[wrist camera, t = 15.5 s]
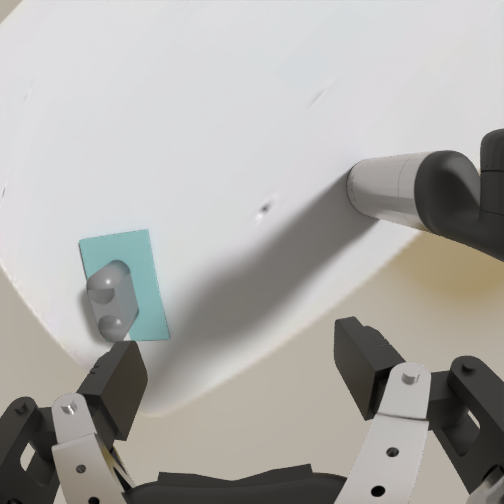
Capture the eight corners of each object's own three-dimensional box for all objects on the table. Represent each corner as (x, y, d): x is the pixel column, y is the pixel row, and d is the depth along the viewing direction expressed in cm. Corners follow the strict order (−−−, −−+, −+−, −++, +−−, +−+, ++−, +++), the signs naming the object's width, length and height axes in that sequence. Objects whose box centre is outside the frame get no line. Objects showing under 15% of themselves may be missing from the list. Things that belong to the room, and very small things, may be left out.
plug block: (127, 258, 39) (110, 272, 32) (144, 329, 42) (132, 352, 35) (103, 261, 39) (83, 274, 32) (121, 330, 42) (106, 352, 35)
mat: (147, 229, 39) (146, 230, 38) (169, 336, 44) (169, 339, 43) (81, 239, 38) (79, 240, 38) (107, 339, 43) (106, 341, 42)
